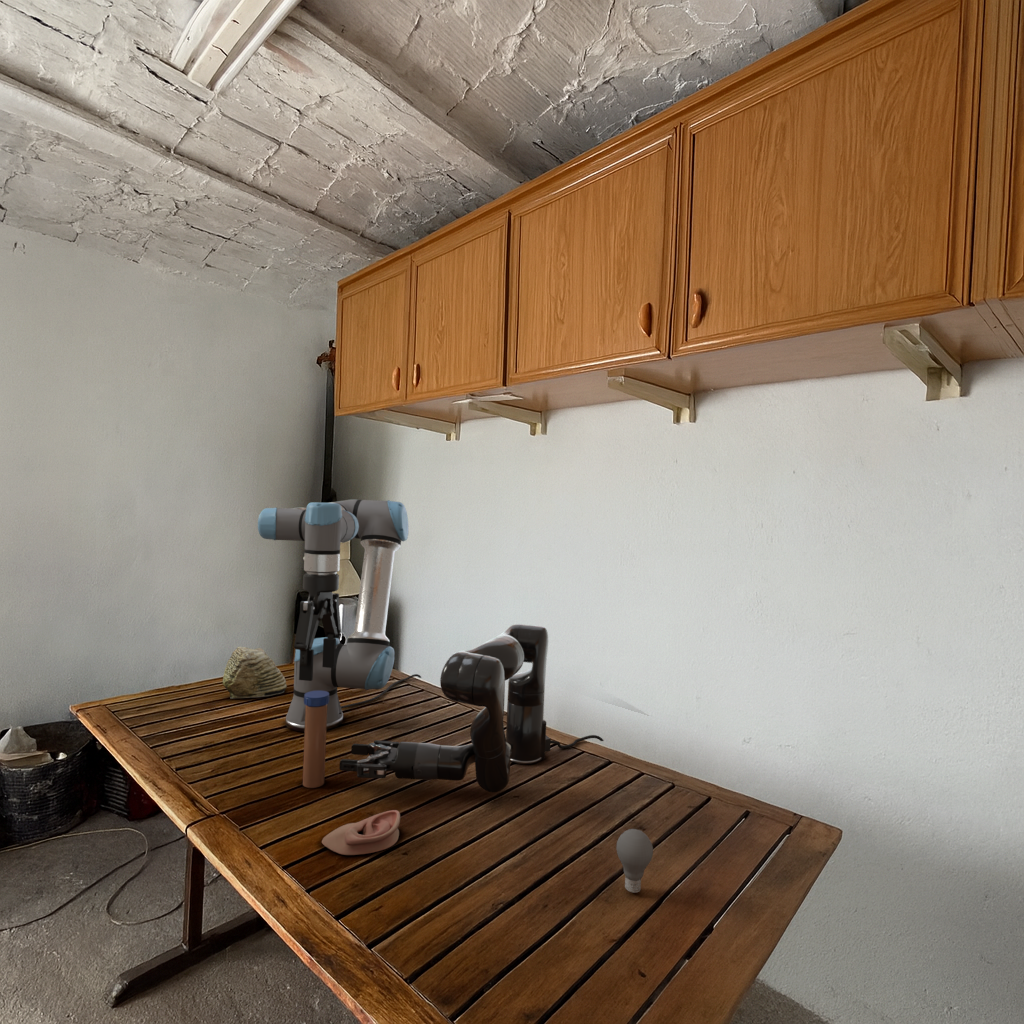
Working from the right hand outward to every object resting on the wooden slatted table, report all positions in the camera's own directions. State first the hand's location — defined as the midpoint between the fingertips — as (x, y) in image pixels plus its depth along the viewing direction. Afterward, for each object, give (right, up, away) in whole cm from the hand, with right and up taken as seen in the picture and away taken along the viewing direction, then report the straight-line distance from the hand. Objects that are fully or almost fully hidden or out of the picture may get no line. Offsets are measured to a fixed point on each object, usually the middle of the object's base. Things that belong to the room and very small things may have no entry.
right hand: (346, 756), depth 139 cm
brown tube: (-7, -6, +1) cm, 10 cm away
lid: (-7, +13, 0) cm, 15 cm away
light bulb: (+57, -10, -33) cm, 66 cm away
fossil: (-44, -3, +59) cm, 74 cm away
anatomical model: (+8, -7, -22) cm, 24 cm away
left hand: (-6, +18, 0) cm, 19 cm away
